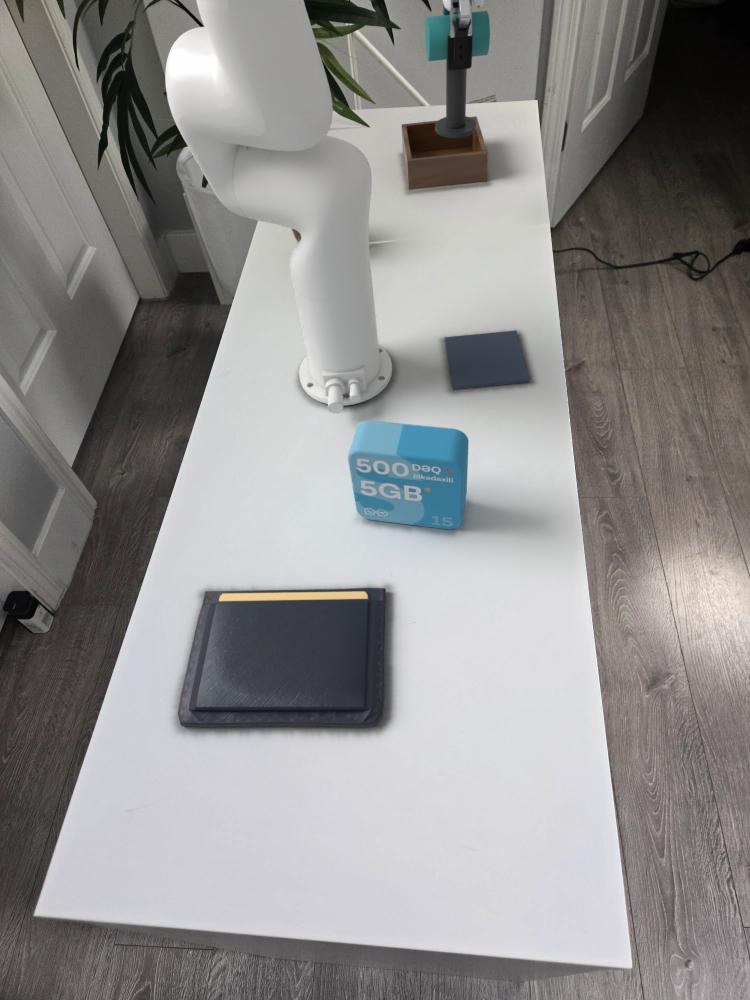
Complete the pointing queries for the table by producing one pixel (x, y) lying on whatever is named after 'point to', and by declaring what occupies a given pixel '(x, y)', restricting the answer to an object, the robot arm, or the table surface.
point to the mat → (486, 360)
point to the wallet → (287, 659)
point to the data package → (409, 473)
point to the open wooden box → (442, 157)
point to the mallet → (436, 49)
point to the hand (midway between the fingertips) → (456, 58)
